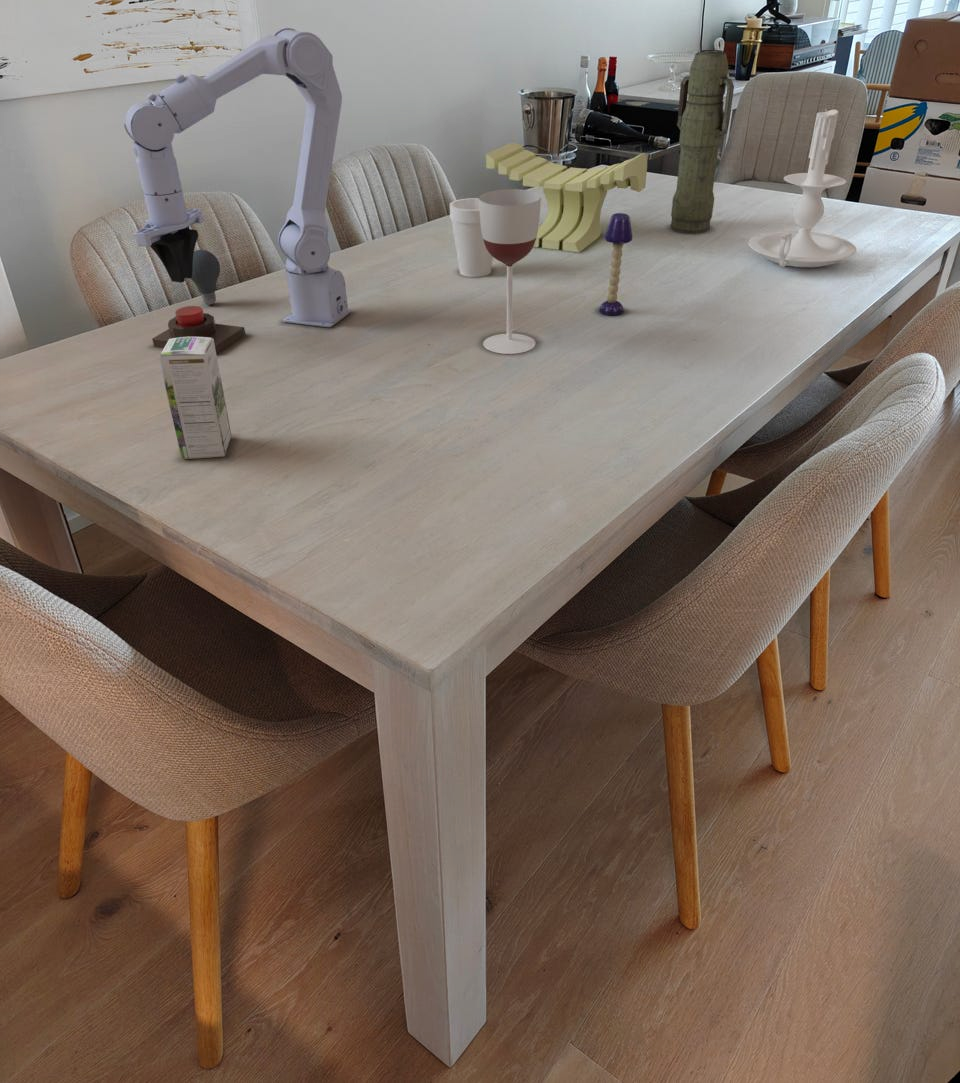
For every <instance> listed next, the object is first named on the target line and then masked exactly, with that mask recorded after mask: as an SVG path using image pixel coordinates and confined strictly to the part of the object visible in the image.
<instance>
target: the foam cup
mask: <svg viewBox="0 0 960 1083" xmlns="http://www.w3.org/2000/svg"><path fill="white" fill-rule="evenodd" d="M449 219H450V220H451V227H452V233H453V240H454V244H455V251H456V258H457V264H458V270H459V274H460V275H462V276H463V277H468V278H481V277H486V276H489V275H491V273H492V269H493V268H492V267H493V259H494V257H493V256H492V255H491V254H490V253H489V252H488V250H487V249H486V247H485V244H484V241H483V237H482V231H481V223H480V210H479V197H468V198H460V199H455V200H453V201H452V202H450V203H449Z"/></svg>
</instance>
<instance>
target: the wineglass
mask: <svg viewBox="0 0 960 1083" xmlns="http://www.w3.org/2000/svg"><path fill="white" fill-rule="evenodd" d="M541 196H542V195H541V194H540V193H538V192H536V191H533V190H528V189H521V188H519V189H518V188H507V189H505V188H504V189H496V190H491V191H488V192H484V193H482V194H480V195H479V197H478V198H479V210H480V223H481V231H482V237H483V241H484V244H485V247H486V249H487V250H488V252H489V253H490V254H491V255H492V256H493V259H495V260H496V261H498V262H500V263H502V264H503V265H506V333H500V334H494V335H492V336H489V337H487V338H486V339H484V340H483V343H482V345H483V347H484V348H485V349H487V350H488V351H490V352H493V353H498V354H503V355H504V354H505V355H513V354H515V355H516V354H521V353H526V352H528V351H531V350H533V349H534V348H535V347H536V344H537V343H536V341H535V339H533V338H532V337H531V336H528V335H525V334H520V333H513V266H514V265H515V264H516V263H518V262H520V261H521V260H523V259H525V258H526V257H527V256H528V255H529V254H530V253H531V251H532V250H533V248H534V247H533V246H534V244H535V241H536V238H537V233H538V228H539V227H540V226H539V225H540V216H541V203H542V202H541V201H542V200H541V199H542V197H541Z"/></svg>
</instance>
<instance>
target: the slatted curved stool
mask: <svg viewBox="0 0 960 1083" xmlns="http://www.w3.org/2000/svg"><path fill="white" fill-rule="evenodd" d="M497 168H498V169H497ZM485 169H490V170H491V169H493V170H496V169H497V171H498V172H497V174H498V175H506V176H508V179H509V180H510V181H517V182H519V181H521V180H522V186H523V187H531V188H542V191H543V192H542V193H543V194H544V197H545V199H546V203H547V215H546V218H545V219H544V221H543V222H542V223H541V225H540V226H539V227H538V233H537V238H536V241H535V244H534V246H533V248H539V247H541V248H542V249H549V250H557V251H559V250H561V249H562V251H564V252H572V253H581V252H582V251H583V250H584V249H586V248H587V247H588V246H589V245H591V244H592V243H593V242H595V241H596V240H597V239H598V238H600V236H601V215H602V214H601V213H602V208H603V205H604V202H605V198H606V197H607V194H608V191H611V190H613V189H614V188H617V189H625V190H626V189H628V188H629V187H630V190H632V191H634V192H637V193H640V192H642V191H643V190H644V189H646V185H647V184H646V183H647V173H648V157H647V153H645V152H643V153H639V154H638V155H636V156H635V157H633V158H629V159H626V160H624V161H623V162H621V163H620V162H619V163H614V164H612V165H610V166H603V167H595V168H590V169H588V168H581V167H569V168H568V166H567V165H563V164H559V163H555V162H553V161H552V162H551V161H548V159H546V158H544V157H541V156H537V154H536V153H535V152H533V151H530V150H528V149H525V148H524V146H523V145H521V144H519V143H517V142H509V143H507V144H505V145H502V146H500V147H498V148H496V149H494V150H491V151H489V152H487V153H485Z"/></svg>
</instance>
